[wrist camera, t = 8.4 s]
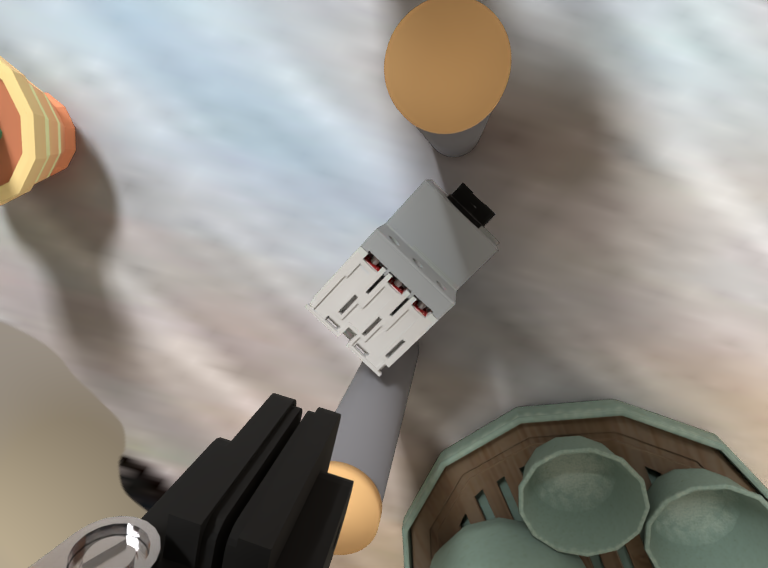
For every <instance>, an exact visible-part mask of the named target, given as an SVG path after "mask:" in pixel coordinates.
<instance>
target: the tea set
mask: <svg viewBox="0 0 768 568" xmlns="http://www.w3.org/2000/svg"><path fill="white" fill-rule="evenodd" d="M402 536H403V552H404V568H768V489H767V488H766V487H765V486H764V485H763V484H762V483H761V482H760V480H759V479H758V478H757V477H756V476H755V475H754V474H753V473H752V472H751V471H750V470H749V469H748V468H747V467H746V466H745V465H744V464H743V463H742V462H741V461H740V459H739V458H738V457H737V456H736V455H735V454H734V453H733V452H732V451H731V450H730V449H729V448H728V447H727V446H726V445H725V444H724V443H723V442H722V441H721V440H720V439H719V438H718V437H717V436H716V435H715V434H713V433H710V432H707V431H704V430H701V429H698V428H695V427H693V426H690V425H687V424H684V423H681V422H678V421H675V420H673V419H670V418H667V417H664V416H661V415H658V414H655V413H653V412H650V411H647V410H644V409H641V408H638V407H635V406H633V405H630V404H627V403H624V402H621V401H618V400H614V399H607V400H596V401H584V402H572V403H560V404H548V405H537V406H525V407H516V408H515V409H513V410H511V411H510V412H508V413H506V414H504V415H503V416H501V417H499V418H498V419H496V420H494V421H493V422H491V423H489V424H487V425H486V426H484V427H482V428H481V429H479V430H477V431H475V432H474V433H472V434H470V435H469V436H467V437H465V438H464V439H462V440H460V441H458V442H457V443H455V444H453V445H452V446H450V447H448V448H447V449H445V450H444V451H442V452H441V453H440V455H439V457H438V459H437V460H436V462H435V464H434V466H433V468H432V469H431V471H430V473H429V475H428V476H427V478H426V480H425V482H424V483H423V485H422V487H421V489H420V490H419V492H418V494H417V496H416V498H415V499H414V501H413V503H412V505H411V506H410V508H409V510H408V512H407V513H406V515H405V517H404V521H403V526H402Z"/></svg>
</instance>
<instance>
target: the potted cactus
mask: <svg viewBox="0 0 768 568" xmlns="http://www.w3.org/2000/svg"><path fill="white" fill-rule="evenodd" d="M75 151H76V138H75V127H74V125H73V123H72V120H71V118H70V116H69V114H68V112H67V110H66V108H65V107H64V106H63V105H62V104H61V103H59V102H58V101H57V100H56V99H55V98H53V97H52V96H51V95H50V94H48V93H44V92H42V91H41V90H40V89H39V88H37V87H36V86H35V85H34V84H32V83H31V82H30V81H29V80H27V79H26V77H25V76H24V75H23V74H22V73H21V72H19V71H18V70H17V69H16V68H14V67H13V66H12V65H11V64H9V63H8V62H7V61H6V60H4V59H3V58H2V57H1V56H0V205H3V204H5V203H7V202H9V201H11V200H13V199H15V198H17V197H19V196H21V195H23V194H25V193H27V192H29V191H31V189H32V187H33V185H34V184H36V183H38V182H40V181H42V180H44V179H46V178H48V177H49V176H52V175H54V174H56V173H58V172H60V171H62V170H64V169H66V168H67V167H68V165H69V163H70V161H71V159H72V157H73V155H74V153H75Z"/></svg>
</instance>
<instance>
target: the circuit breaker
mask: <svg viewBox="0 0 768 568" xmlns="http://www.w3.org/2000/svg"><path fill="white" fill-rule="evenodd" d="M494 215H495V213H494V212H493V211H492V210H491V209H490V208H489V207H488V206H487V205H485V204H483V203H482V202H481V201H480V200H479V199H478V198H477V197H476V196H475V195H474V194H473V192H472V191H471V190H470V189H469V188H468V187H467V186H466V185H465V184H464V183H462V184H461V185H460V186H459V187H458V189H457V190H456V191H455V192H454V193H453V194H452V195H451V194H450V195H449V196H448V195H447V194H446V193H445V192H444V191H443V190H442V189H441V188H440V187H439V186H438V185H437V184H436V183H435V182H434V181H433V180H425V181H424V182H423V183H422V184H421V185H420V186H419V188H418V189H417V190H416V191H415V192H414V193H413V194H412V195H411V196H410V197H409V198H408V199H407V201H406V202H405V203H404V204H403V205H402V206H401V207H400V208H399V209H398V210H397V211H396V212H395V214H394V215H393V216H392V217H391V218H390V219H389V220H388V221H387V222H386V223H385V224H384V225H382V226H380V227H378V228H377V229H376V230H375V231H374V232H373V233H372V234H371V235H370V236H369V237H368V238H367V240H366V241H365V242H364V243H363V244H362V245H361V246H360V247H359V248H358V249H357V250H356V252H355V253H354V254H353V255H352V256H351V257H350V258H349V259H348V260H347V261H346V262H345V264H344V265H343V266H342V267H341V268H340V269H339V270H338V271H337V272H336V273H335V274H334V275H333V277H332V278H331V279H330V280H329V281H328V282H327V283H326V284H325V285H324V286H323V287H322V289H321V290H320V291H319V292H318V293H317V294H316V295H315V296H314V299H313V300H312V301H311V302H310V304H311V305H312V306H311V305H309V304H307V305H306V306H305V308H306V309H307V310H309V311H310V312H311V313H312V314H313V315H314V316H315V317H316V318H317V319H318V320H319V321H320V322H321V323H322V324H323V325H324V326H326V327H327V328H328V329H329V330H330V331H331V332H332V333H333V334H334V335H335V336H336V337H337V338H338V337H339V336H340V335H341V334H342V333H343V334H344V335H345V336H346V337H347V338H349V339H350V340H349V342H348V344H347V345H346V346H347V347H348V348H349V349H350V350H351V351H352V352H353V353H354V354H355V355H356V356H358V357H359V358H360V359H361V360H362V361H363V362H364V363H365V364H366V365H367V366H368V367H369V368H370V369H371V370H372V371H373V372H375V373H376V374H377V375H378V376H380V375H381V374H382V372H381V371H380V370H381V369H382V368H383V367H384V366H386V365H387V366H388V367H390V366H391V365H392V364H393V363H394V362H395V361H396V360H397V359H398V358H399V357H400V356H401V355H402V354H404V353H405V352H406V351H407V350H408V349H409V348H410V347H411V346H412V345H413V344H414V343H415V342H416V341H417V340H418V339H419V338H420V337H421V336H422V335H423V334H425V333H426V332H427V331H428V330H429V329H430V328H431V327H432V326H433V325H434V324H435V323H436V322H437V321H438V320H439V319H440V318H441V317H442V316H443V315H445V314H446V313H447V312H448V311H449V310H450V309H451V308H452V307H453V306H454V305H455V304H456V291H457V290H458V289H459V288H460V287H461V286H462V285H463V284H464V283H465V282H466V281H467V280H468V279H469V278H470V277H471V276H472V275H473V274H474V273H475V272H476V271H477V270H478V269H480V268H481V267H482V266H483V265H484V264H485V263H486V262H487V261H488V260H489V259H490V258H491V257H492V256H493V255H494V254H495V253H496V252H497V251H498V248H497V245H498V244H499V242H498V241H497V240H496V239H495V238H494V237H493V236H492V235H491V234H490V233H489V232H488V231H487V230H486V229H485V227H484V226H485V225H486V224H487V223H488V222H489V221H490V219H491V218H492V217H493V216H494ZM328 318H329V319H330V320H331V321H332V322H333V323H334V324H335V325H336V326H337V328H335V327H334V326H333V325H332V324H331V323H330V322H329V321H328V320H327V319H328ZM356 345H357V346H358V347H359V348H361V349H362V350H363V351H364V352H365V353H364V354H363V353H362V352H361V351H360V350H359V349H358V348H357V347H356ZM379 369H380V370H379Z"/></svg>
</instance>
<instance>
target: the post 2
mask: <svg viewBox="0 0 768 568" xmlns="http://www.w3.org/2000/svg"><path fill="white" fill-rule="evenodd" d="M510 70H511V49H510V43H509V39H508V36H507V33H506V31H505V29H504V27H503V25H502V23H501V22H500V20H499V19H498V18H497V16H496V15H495V14H494V13H493V12H492V11H491V10H490V9H489V8H488V7H486V6H485V5H483V4H482V3H480V2H478V1H476V0H428V1H425V2H423V3H421V4H420V5H418V6H417V7H415V8H414V9H413V10H411V11H410V12H409V13H408V14H407V15H406V16H405V17H404V18H403V19H402V20H401V22H400V23H399V24H398V26H397V27H396V29H395V30H394V32H393V34H392V36H391V38H390V41H389V43H388V47H387V50H386V55H385V61H384V74H385V82H386V86H387V90H388V92H389V95H390V97H391V99H392V101H393V103H394V105H395V106H396V108H397V109H398V110H399V111H400V113H401V114H402V115H403V116H404V117H405V118H406V119H407V120H408V121H409V122H410V123H412V124H413V125H415V126H416V127H417V128H418V130H419V131H420V132H421V133H422V134H423V135H424V137H425V138H426V139H427V140H428V141H429V142H430V143H431V145H432V146H433V147H434V148H435V149H436V150H437V151H438V152H439V153H441V154H443V155H445V156H449V157H458V156H462V155H465V154H466V153H468V152H470V151H471V150H472V149H473V148H474V147H475V146H476V144H477V143H478V141H479V139H480V137H481V134H482V132H483V130H484V128H485V126H486V124H487V121H488V119H489V117H490V115H491V113H492V110H493V109H494V108H495V106H496V105H497V103H498V102H499V100H500V98H501V96H502V94H503V92H504V90H505V88H506V85H507V82H508V79H509V75H510Z"/></svg>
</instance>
